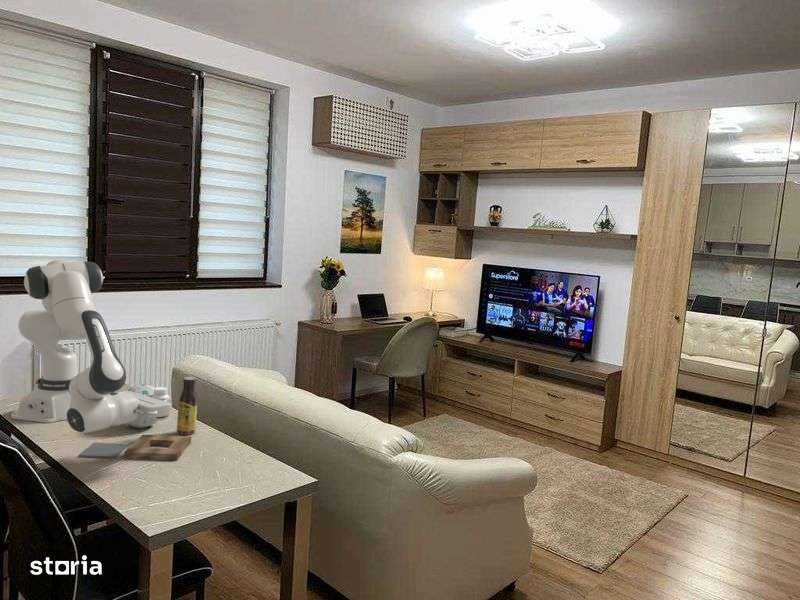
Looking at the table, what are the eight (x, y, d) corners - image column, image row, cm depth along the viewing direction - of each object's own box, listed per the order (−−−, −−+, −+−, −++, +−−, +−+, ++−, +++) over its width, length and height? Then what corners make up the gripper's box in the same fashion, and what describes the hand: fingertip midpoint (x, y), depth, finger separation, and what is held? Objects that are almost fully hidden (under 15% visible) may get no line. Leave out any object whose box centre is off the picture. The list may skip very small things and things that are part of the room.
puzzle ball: (160, 417, 228) (161, 378, 227) (168, 430, 216) (169, 389, 214) (116, 422, 220) (116, 381, 219) (121, 435, 208) (122, 392, 206)
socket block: (124, 458, 189) (124, 452, 188) (142, 440, 204) (142, 434, 204) (177, 460, 190) (177, 454, 190) (191, 442, 206) (191, 436, 205)
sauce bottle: (172, 433, 213) (174, 377, 211) (186, 428, 218) (188, 374, 216) (186, 437, 210) (188, 381, 208) (200, 432, 215) (202, 377, 213)
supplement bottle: (172, 417, 198) (173, 387, 197) (161, 421, 193) (162, 391, 191) (158, 414, 199) (158, 385, 198) (146, 419, 194) (147, 389, 193)
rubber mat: (78, 457, 187) (78, 455, 187) (93, 444, 198) (93, 442, 198) (115, 458, 188) (115, 456, 188) (128, 445, 199) (128, 444, 199)
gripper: (147, 405, 179) (185, 395, 191) (103, 391, 189) (142, 383, 201) (146, 426, 179) (184, 415, 191) (103, 411, 189) (141, 402, 201)
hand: (162, 399), depth 196 cm, fingers closed on supplement bottle, 5 cm apart
